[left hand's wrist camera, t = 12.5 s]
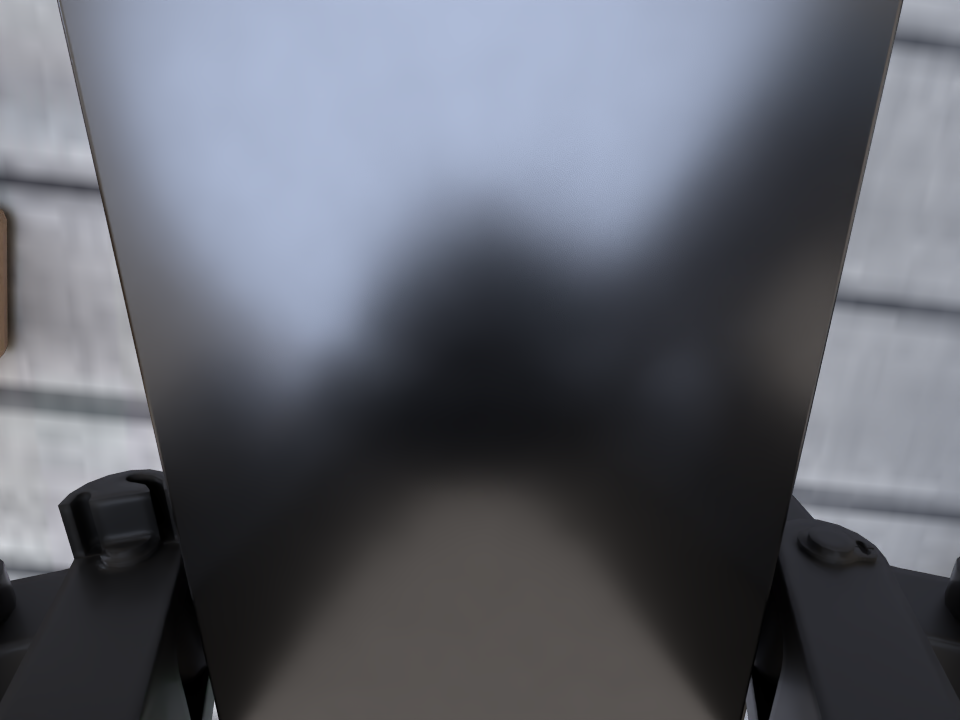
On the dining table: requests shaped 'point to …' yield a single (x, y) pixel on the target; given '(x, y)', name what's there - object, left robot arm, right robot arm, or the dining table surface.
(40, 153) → the dining table surface
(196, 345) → the bar
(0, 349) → the decorative block
